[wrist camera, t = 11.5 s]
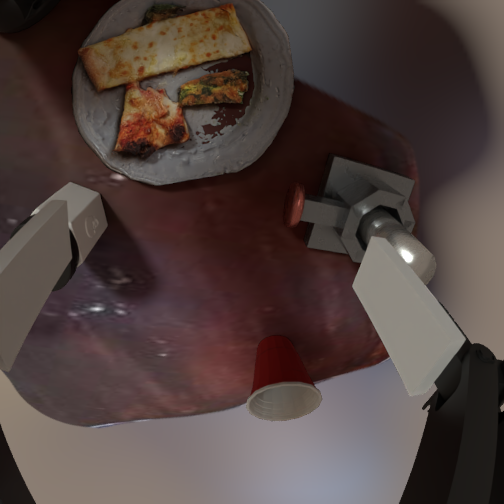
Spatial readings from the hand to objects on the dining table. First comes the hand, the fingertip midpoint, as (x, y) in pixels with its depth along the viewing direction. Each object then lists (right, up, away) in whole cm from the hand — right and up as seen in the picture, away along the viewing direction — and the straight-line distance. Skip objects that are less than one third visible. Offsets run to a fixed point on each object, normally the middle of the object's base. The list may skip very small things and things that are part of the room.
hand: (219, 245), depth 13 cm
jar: (-21, +5, +25) cm, 33 cm away
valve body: (+13, +6, +27) cm, 31 cm away
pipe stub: (+15, +5, +26) cm, 30 cm away
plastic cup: (+5, -16, +39) cm, 42 cm away
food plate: (-7, +19, +18) cm, 27 cm away
